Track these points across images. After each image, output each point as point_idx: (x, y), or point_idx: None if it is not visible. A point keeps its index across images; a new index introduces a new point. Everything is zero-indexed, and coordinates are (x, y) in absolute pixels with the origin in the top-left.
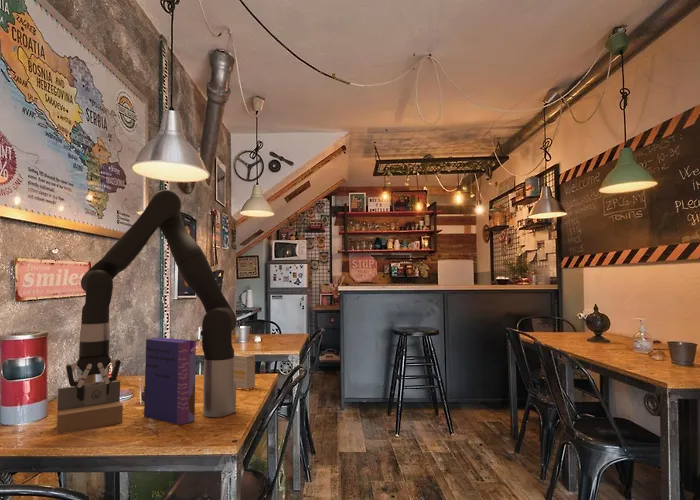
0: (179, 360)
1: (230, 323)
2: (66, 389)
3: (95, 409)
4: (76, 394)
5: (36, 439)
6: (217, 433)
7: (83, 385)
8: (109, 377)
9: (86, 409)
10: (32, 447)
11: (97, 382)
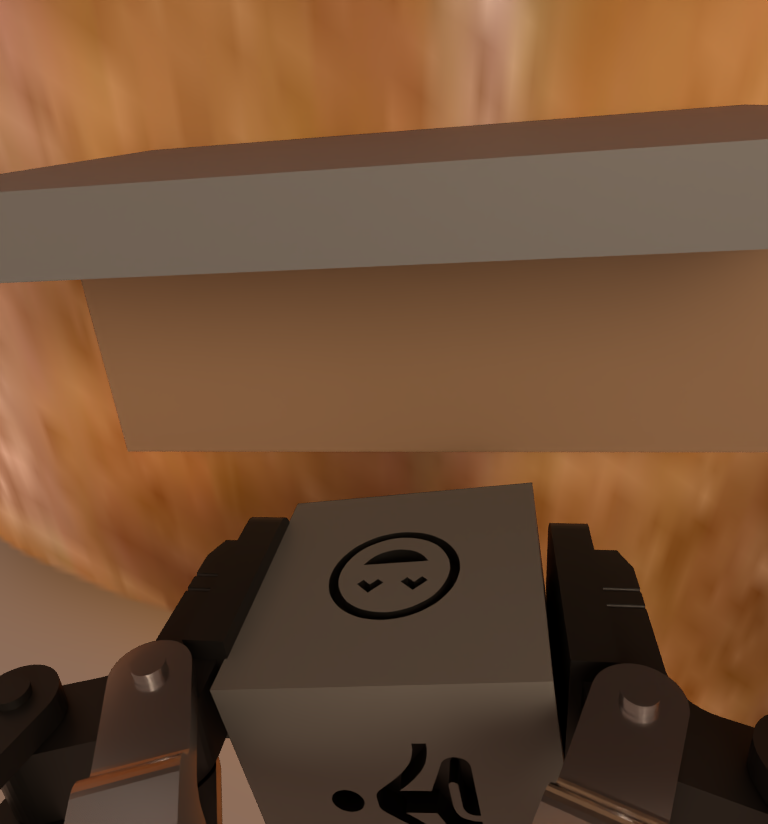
0: None
1: None
2: None
3: (462, 450)
4: (197, 573)
5: (85, 421)
6: None
7: (239, 746)
8: (711, 812)
9: (372, 389)
10: (108, 564)
11: (461, 726)
